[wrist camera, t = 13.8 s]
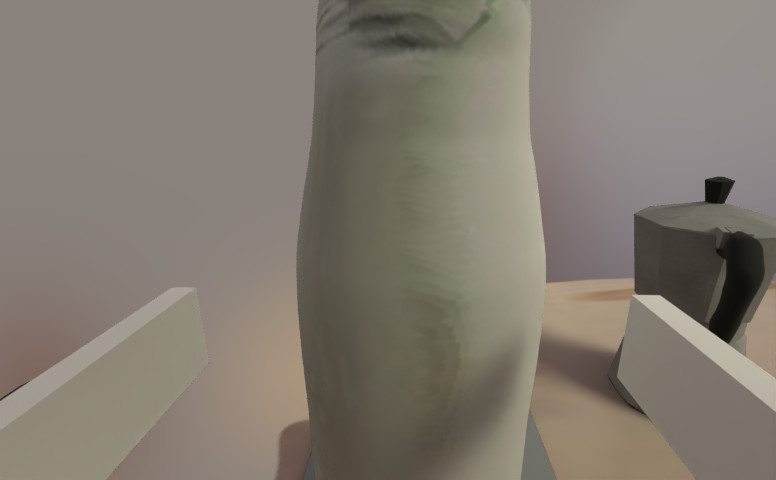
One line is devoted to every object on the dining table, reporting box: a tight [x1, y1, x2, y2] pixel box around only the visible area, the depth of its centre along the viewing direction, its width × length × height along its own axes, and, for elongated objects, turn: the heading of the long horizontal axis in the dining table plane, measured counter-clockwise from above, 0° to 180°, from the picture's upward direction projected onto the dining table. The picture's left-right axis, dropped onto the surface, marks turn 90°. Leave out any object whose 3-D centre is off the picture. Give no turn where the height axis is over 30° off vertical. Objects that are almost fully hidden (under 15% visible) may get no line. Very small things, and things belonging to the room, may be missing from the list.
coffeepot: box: [608, 177, 776, 414], centre depth 28 cm, size 15×9×18 cm, turn 153°
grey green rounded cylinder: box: [297, 0, 546, 480], centre depth 17 cm, size 10×10×28 cm
